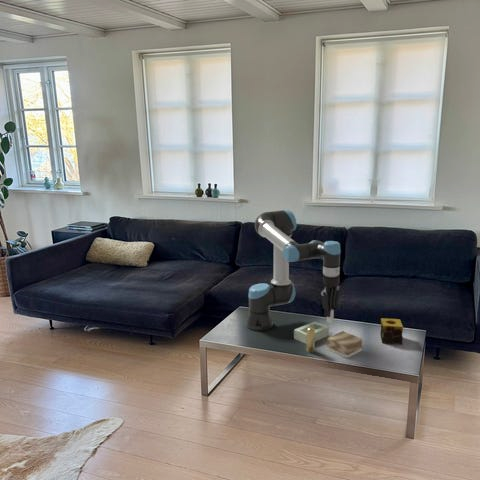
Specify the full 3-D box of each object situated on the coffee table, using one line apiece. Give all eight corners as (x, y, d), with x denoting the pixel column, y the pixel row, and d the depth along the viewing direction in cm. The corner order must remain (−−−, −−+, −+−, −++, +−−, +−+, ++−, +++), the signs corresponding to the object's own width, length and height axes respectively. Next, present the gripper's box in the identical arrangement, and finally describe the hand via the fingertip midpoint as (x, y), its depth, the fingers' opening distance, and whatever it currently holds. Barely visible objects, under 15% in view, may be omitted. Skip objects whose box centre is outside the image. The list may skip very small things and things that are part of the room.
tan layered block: (327, 346, 227) (327, 337, 226) (342, 339, 234) (342, 331, 233) (346, 355, 218) (347, 346, 217) (362, 347, 225) (362, 338, 224)
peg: (304, 350, 227) (304, 328, 224) (310, 348, 229) (310, 326, 227) (310, 353, 224) (311, 330, 221) (316, 350, 226) (316, 328, 224)
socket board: (294, 338, 240) (294, 329, 239) (314, 329, 250) (314, 321, 249) (308, 344, 233) (308, 335, 232) (328, 335, 243) (328, 327, 242)
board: (327, 349, 227) (327, 346, 227) (342, 342, 235) (342, 339, 234) (346, 358, 218) (346, 355, 218) (361, 350, 225) (362, 347, 225)
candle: (402, 345, 230) (403, 327, 228) (381, 343, 232) (382, 325, 230) (399, 336, 240) (401, 319, 238) (379, 335, 242) (380, 317, 240)
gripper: (328, 279, 202) (327, 328, 208) (346, 273, 211) (345, 321, 216) (315, 276, 208) (314, 323, 213) (333, 270, 216) (332, 316, 222)
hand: (329, 322), depth 215 cm, fingers closed
